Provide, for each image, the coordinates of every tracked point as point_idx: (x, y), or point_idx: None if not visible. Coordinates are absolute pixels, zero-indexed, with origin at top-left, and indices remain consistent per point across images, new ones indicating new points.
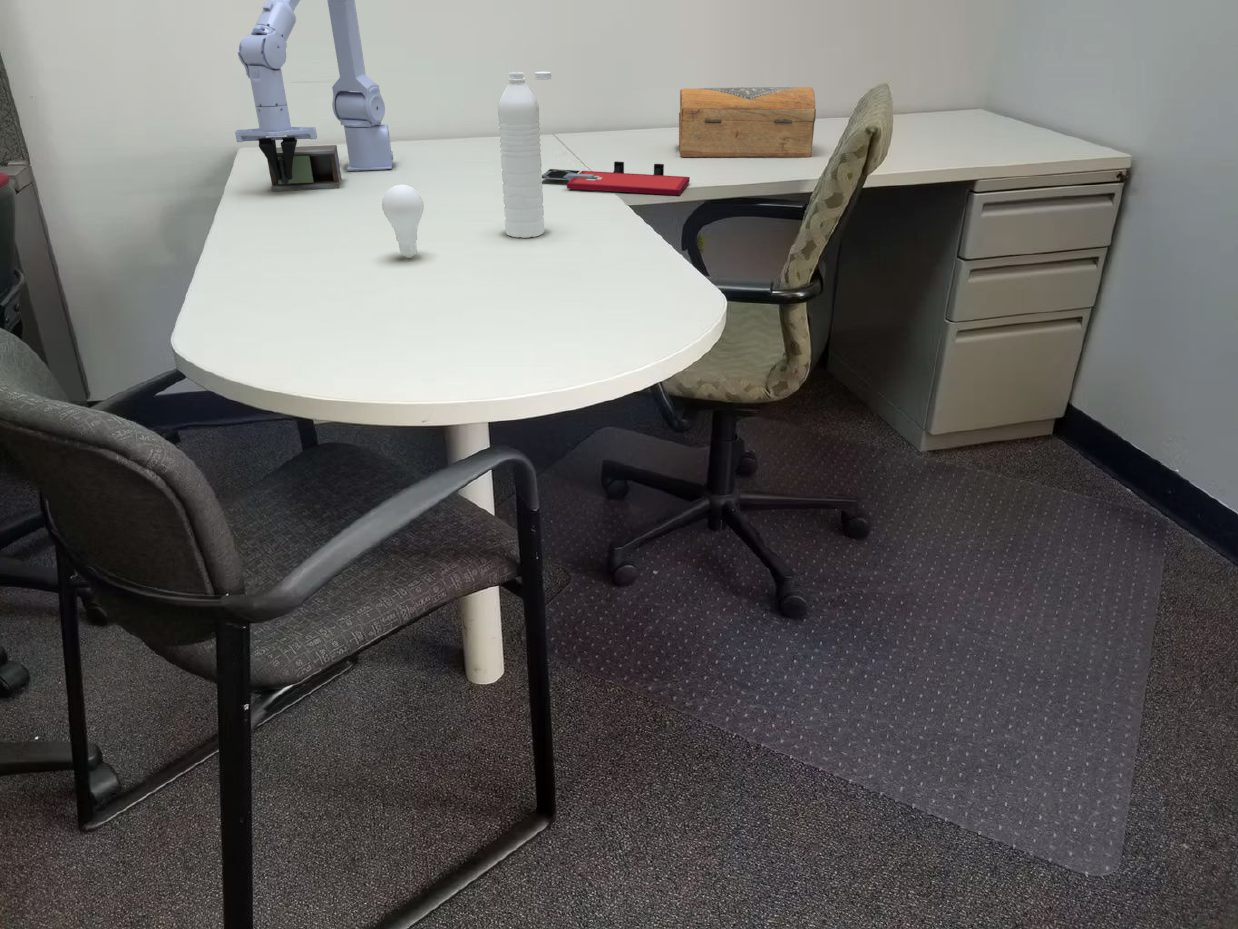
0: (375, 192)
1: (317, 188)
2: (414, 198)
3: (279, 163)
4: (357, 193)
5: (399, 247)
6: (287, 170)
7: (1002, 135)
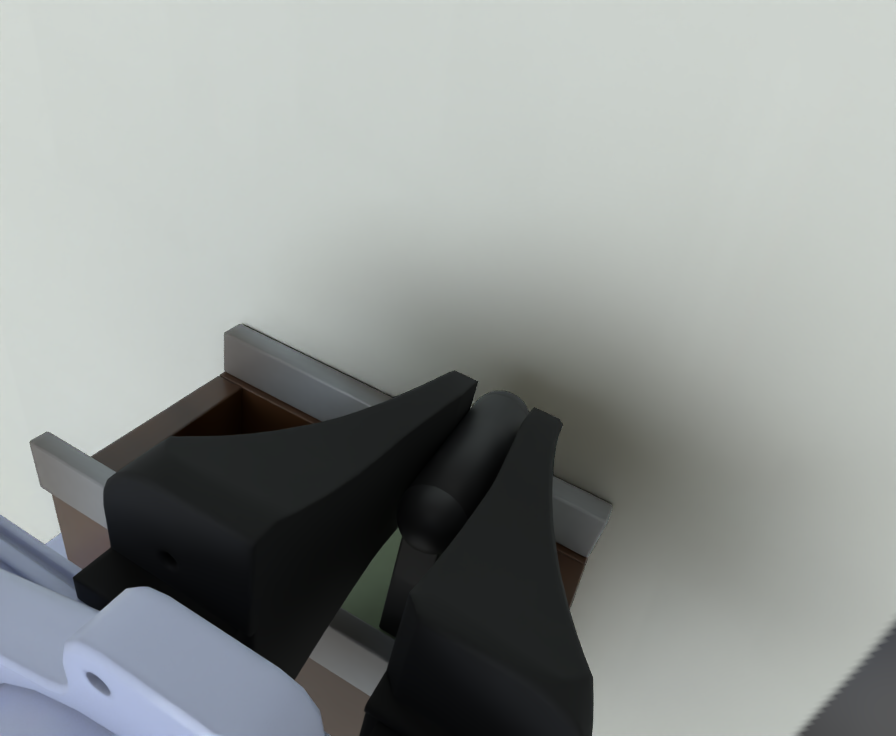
0: (52, 78)
1: (344, 374)
2: None
3: (458, 500)
4: (136, 107)
5: None
6: (430, 400)
7: None
